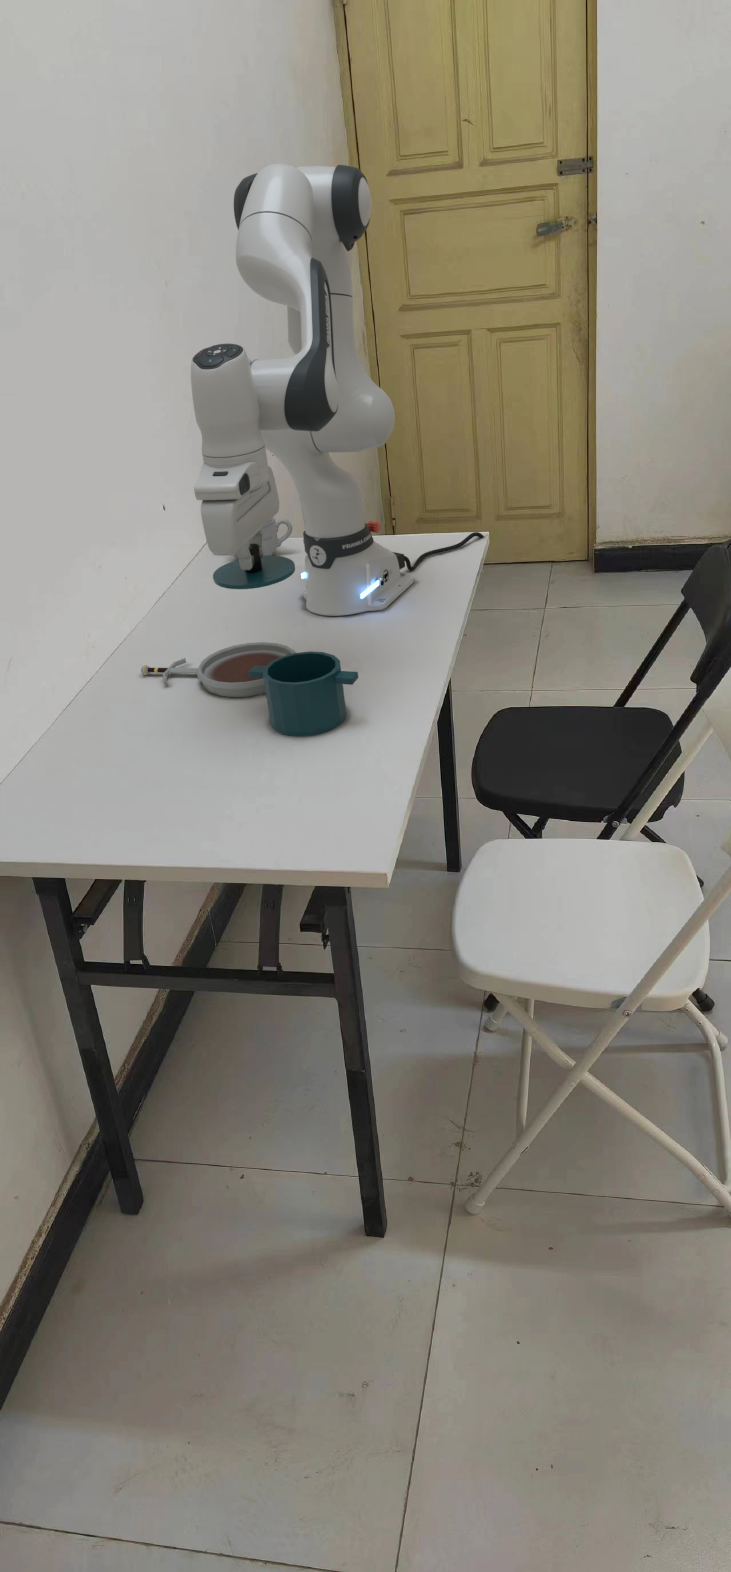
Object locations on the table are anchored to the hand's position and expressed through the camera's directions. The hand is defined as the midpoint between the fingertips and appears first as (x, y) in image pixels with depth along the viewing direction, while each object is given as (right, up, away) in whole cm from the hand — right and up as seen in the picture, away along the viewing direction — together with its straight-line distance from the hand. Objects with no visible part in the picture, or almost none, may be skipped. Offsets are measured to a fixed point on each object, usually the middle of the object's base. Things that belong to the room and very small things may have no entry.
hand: (252, 563), depth 164 cm
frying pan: (-8, -15, +22) cm, 27 cm away
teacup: (-5, +16, +74) cm, 75 cm away
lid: (0, -1, +1) cm, 2 cm away
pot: (+8, -23, +5) cm, 24 cm away
